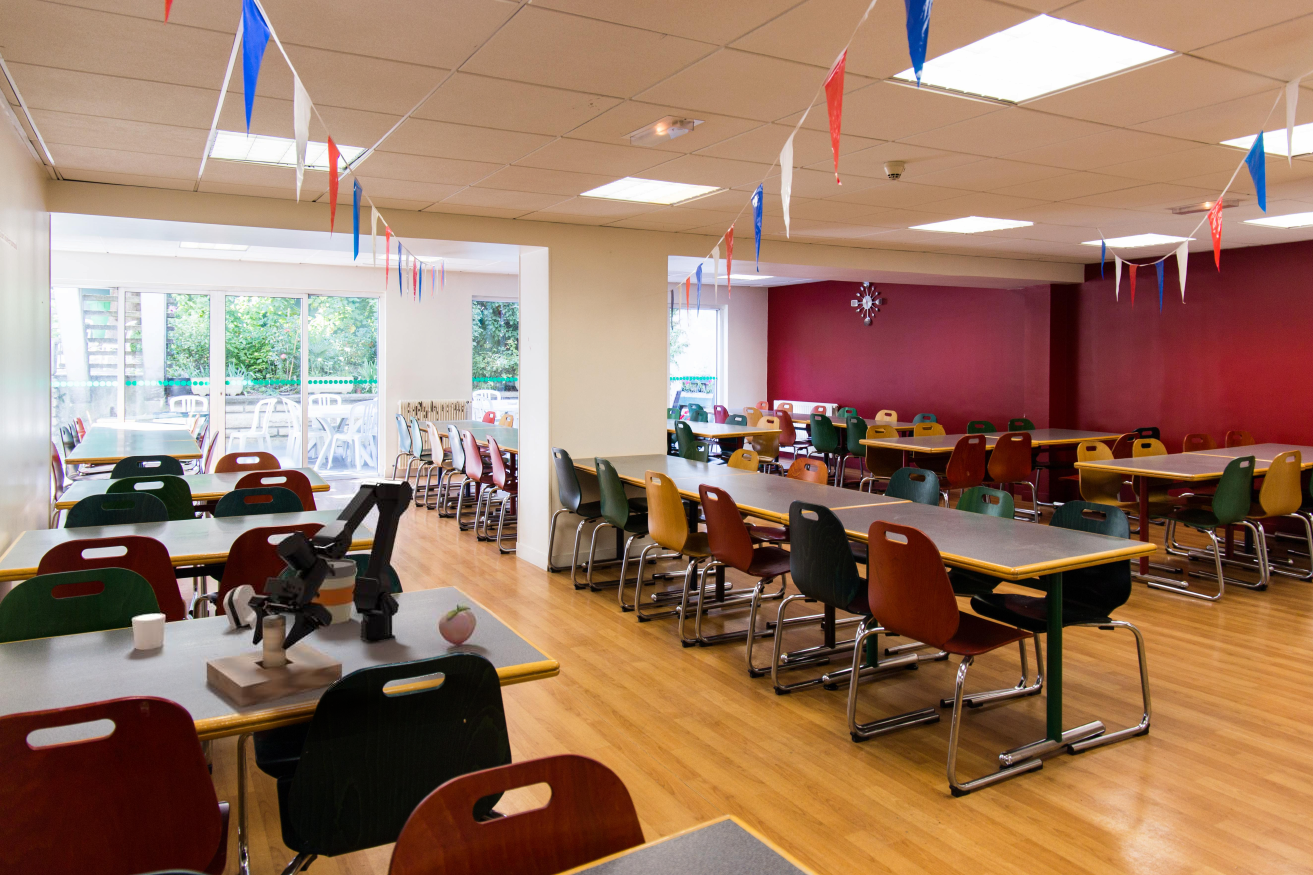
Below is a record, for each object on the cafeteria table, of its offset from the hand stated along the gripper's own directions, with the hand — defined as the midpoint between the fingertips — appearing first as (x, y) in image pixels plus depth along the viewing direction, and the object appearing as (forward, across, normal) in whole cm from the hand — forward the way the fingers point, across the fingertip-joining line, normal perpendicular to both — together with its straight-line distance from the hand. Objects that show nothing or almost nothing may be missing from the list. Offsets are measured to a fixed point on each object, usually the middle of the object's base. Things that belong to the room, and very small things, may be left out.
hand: (268, 646), depth 177 cm
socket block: (+5, 0, +6) cm, 8 cm away
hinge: (-18, -42, +29) cm, 54 cm away
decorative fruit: (-20, +21, +32) cm, 43 cm away
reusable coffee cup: (-24, -22, +36) cm, 48 cm away
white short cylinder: (0, -45, +11) cm, 46 cm away
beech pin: (+4, 0, +6) cm, 7 cm away
